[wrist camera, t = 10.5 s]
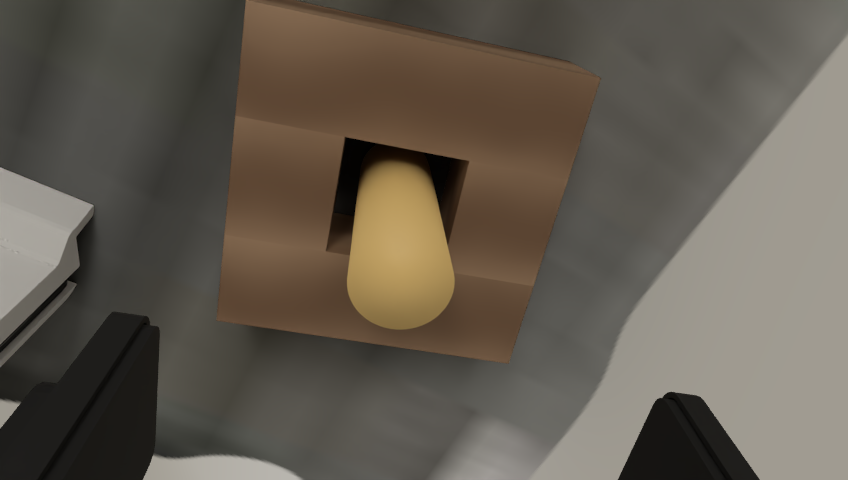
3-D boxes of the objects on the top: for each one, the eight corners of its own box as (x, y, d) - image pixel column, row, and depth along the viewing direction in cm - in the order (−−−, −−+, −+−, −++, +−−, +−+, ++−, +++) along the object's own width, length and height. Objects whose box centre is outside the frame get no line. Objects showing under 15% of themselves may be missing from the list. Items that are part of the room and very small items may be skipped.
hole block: (267, -6, 23) (245, -1, 19) (568, 61, 25) (600, 77, 21) (238, 273, 28) (216, 320, 24) (493, 314, 29) (508, 363, 26)
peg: (366, 133, 25) (356, 225, 16) (437, 146, 26) (466, 244, 17) (354, 199, 26) (338, 320, 17) (421, 212, 27) (441, 336, 18)
